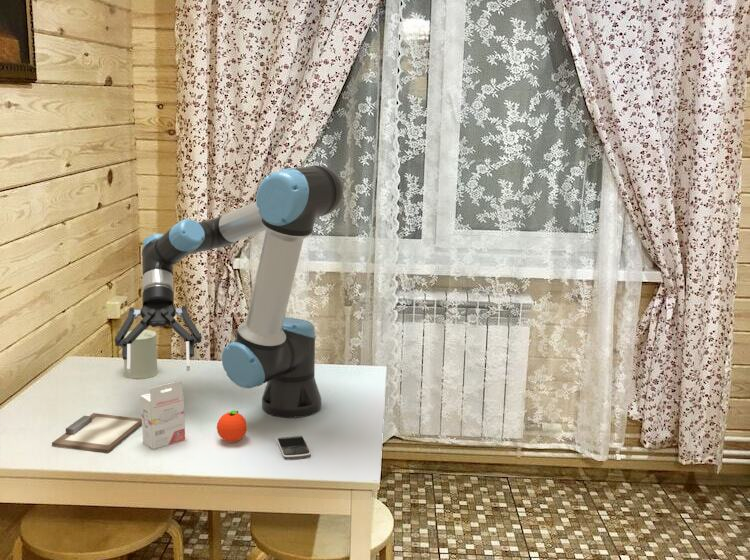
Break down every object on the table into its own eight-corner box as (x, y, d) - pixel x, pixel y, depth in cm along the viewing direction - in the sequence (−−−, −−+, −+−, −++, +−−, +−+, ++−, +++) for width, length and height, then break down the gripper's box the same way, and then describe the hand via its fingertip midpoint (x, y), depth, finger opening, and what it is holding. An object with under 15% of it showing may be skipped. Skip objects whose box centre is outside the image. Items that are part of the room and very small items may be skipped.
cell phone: (283, 462, 192) (283, 456, 192) (275, 441, 202) (275, 436, 202) (311, 459, 194) (311, 454, 193) (301, 439, 204) (302, 434, 204)
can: (149, 380, 238) (147, 338, 235) (118, 377, 240) (116, 336, 237) (163, 369, 247) (162, 329, 244) (133, 366, 249) (131, 326, 246)
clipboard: (145, 422, 210) (145, 413, 210) (108, 453, 193) (108, 443, 193) (93, 416, 213) (92, 407, 213) (52, 446, 196) (51, 437, 196)
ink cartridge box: (174, 433, 205) (172, 374, 201) (185, 440, 201) (183, 380, 198) (141, 442, 199) (139, 382, 195) (152, 450, 195) (149, 388, 192)
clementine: (224, 431, 206) (224, 403, 204) (252, 434, 205) (252, 406, 203) (212, 445, 199) (212, 416, 197) (241, 448, 197) (241, 419, 196)
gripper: (208, 297, 221) (212, 373, 210) (107, 301, 216) (105, 378, 205) (209, 282, 215) (212, 360, 204) (104, 285, 209) (102, 365, 199)
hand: (158, 369), depth 205 cm, fingers open, 13 cm apart
